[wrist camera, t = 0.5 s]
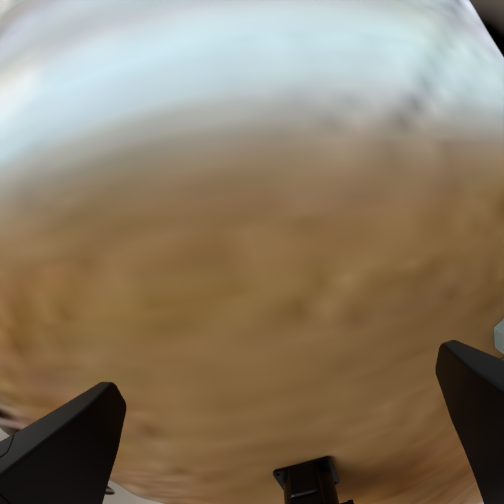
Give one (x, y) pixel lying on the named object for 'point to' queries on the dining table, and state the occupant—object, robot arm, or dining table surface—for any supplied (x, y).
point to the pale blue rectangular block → (499, 336)
